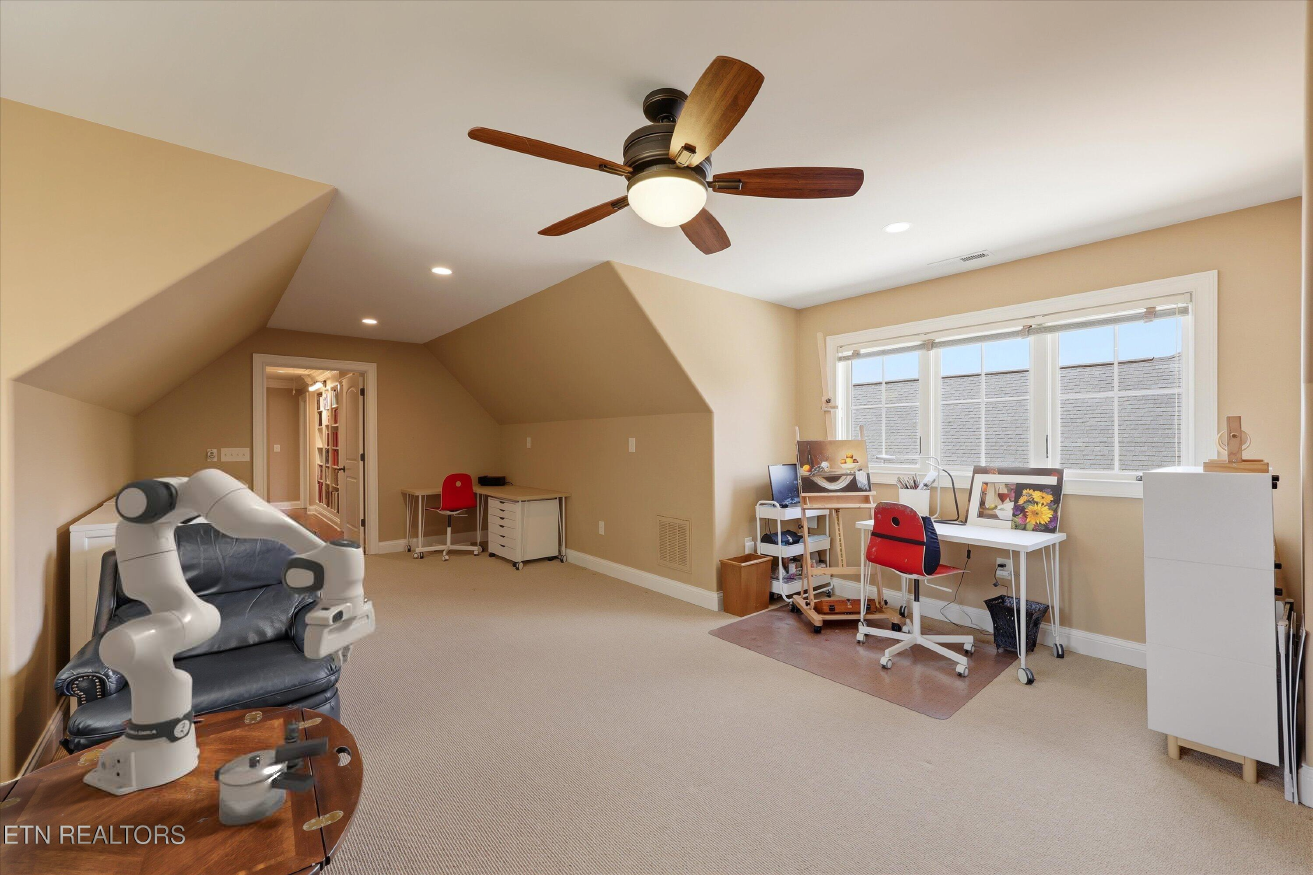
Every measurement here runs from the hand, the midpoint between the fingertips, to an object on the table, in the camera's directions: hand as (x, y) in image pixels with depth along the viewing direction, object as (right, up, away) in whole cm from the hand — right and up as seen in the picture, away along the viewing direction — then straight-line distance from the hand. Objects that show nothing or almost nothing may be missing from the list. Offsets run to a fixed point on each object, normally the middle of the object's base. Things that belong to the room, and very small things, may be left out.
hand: (341, 663), depth 138 cm
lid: (-9, -18, -11) cm, 23 cm away
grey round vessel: (-14, -27, +3) cm, 31 cm away
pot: (-10, -27, -13) cm, 31 cm away
